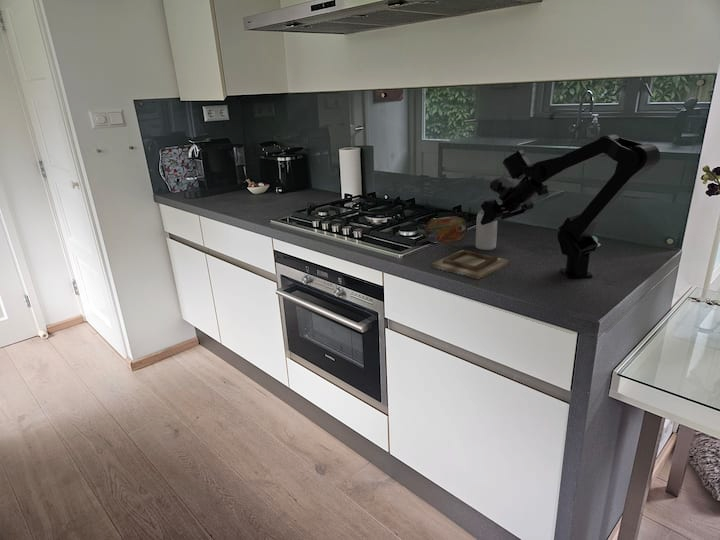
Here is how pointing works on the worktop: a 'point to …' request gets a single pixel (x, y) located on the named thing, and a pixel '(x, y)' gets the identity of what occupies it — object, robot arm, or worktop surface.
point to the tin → (446, 229)
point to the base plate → (470, 264)
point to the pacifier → (596, 240)
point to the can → (485, 233)
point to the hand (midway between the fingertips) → (491, 221)
